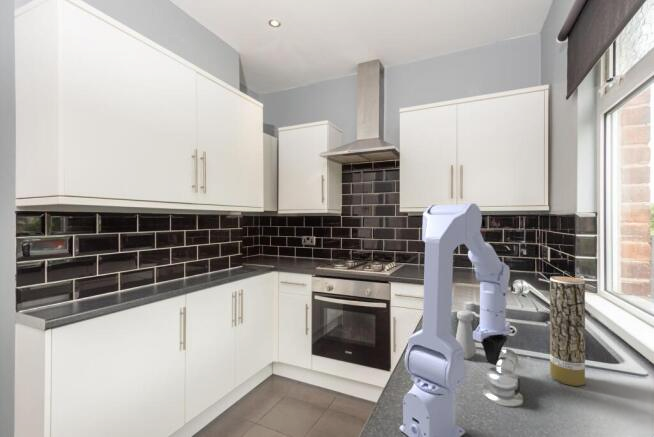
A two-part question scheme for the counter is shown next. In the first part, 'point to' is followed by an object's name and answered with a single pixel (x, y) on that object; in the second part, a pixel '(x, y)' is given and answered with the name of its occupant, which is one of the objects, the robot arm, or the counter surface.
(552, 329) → the paper tube
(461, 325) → the salt shaker
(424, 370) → the robot arm
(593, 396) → the counter surface
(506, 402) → the duct stub
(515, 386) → the elbow
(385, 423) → the counter surface
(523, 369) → the counter surface
